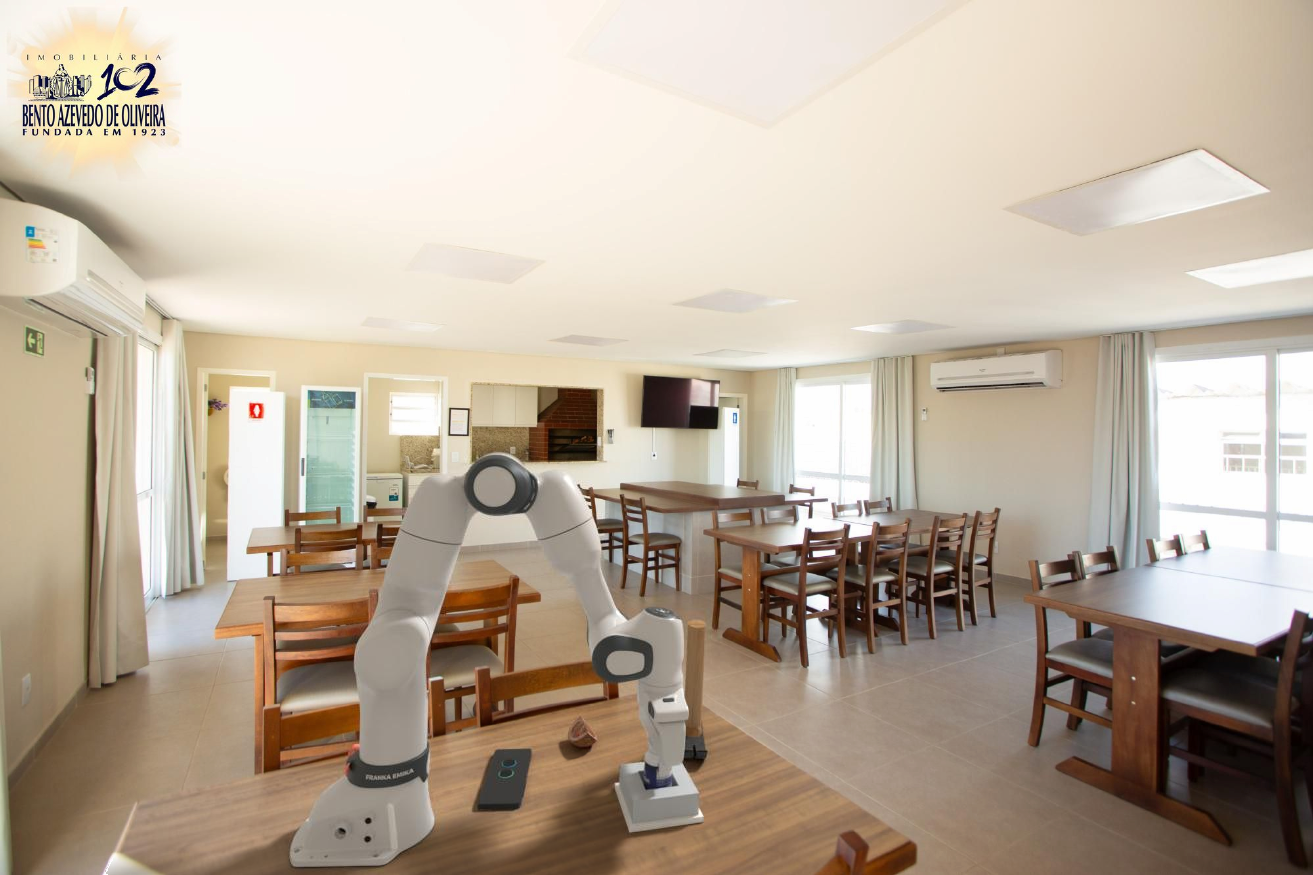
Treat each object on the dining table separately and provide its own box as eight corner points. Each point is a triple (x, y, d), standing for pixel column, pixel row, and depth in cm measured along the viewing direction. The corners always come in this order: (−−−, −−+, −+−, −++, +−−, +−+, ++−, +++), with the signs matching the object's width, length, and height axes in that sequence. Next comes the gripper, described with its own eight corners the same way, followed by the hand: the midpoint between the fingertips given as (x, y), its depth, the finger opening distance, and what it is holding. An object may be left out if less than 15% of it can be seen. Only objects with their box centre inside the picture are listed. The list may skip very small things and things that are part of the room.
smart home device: (532, 747, 133) (521, 802, 113) (532, 755, 133) (520, 811, 113) (494, 748, 132) (476, 803, 112) (494, 756, 132) (476, 812, 112)
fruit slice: (600, 753, 134) (601, 730, 134) (570, 757, 132) (571, 734, 132) (593, 735, 142) (593, 714, 142) (565, 738, 140) (565, 717, 140)
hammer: (706, 774, 130) (712, 648, 125) (683, 774, 130) (688, 647, 125) (699, 715, 150) (704, 604, 145) (679, 715, 150) (683, 603, 145)
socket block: (629, 832, 107) (630, 804, 107) (614, 787, 121) (615, 763, 121) (703, 821, 111) (704, 794, 111) (681, 779, 124) (681, 755, 124)
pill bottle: (639, 787, 117) (640, 737, 117) (664, 782, 119) (665, 732, 119) (650, 803, 112) (651, 751, 112) (676, 797, 114) (677, 745, 114)
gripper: (632, 673, 125) (630, 739, 125) (657, 718, 105) (655, 797, 105) (661, 671, 127) (659, 736, 127) (691, 714, 107) (689, 792, 107)
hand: (658, 764), depth 116 cm, fingers closed on pill bottle, 5 cm apart
